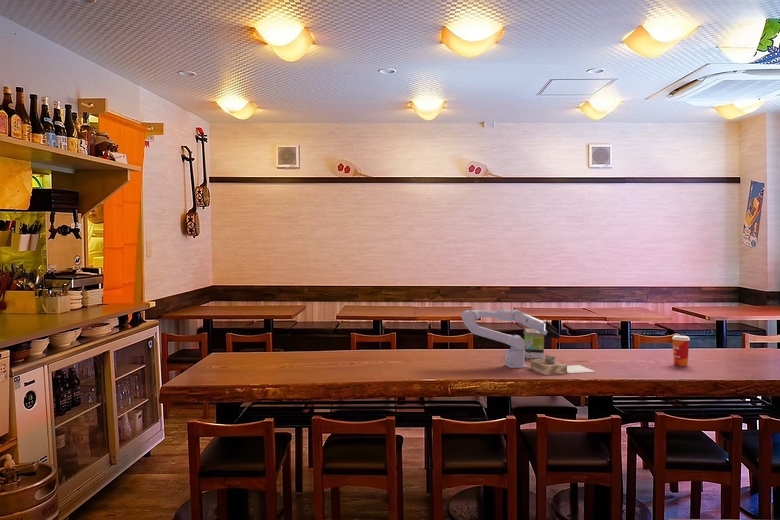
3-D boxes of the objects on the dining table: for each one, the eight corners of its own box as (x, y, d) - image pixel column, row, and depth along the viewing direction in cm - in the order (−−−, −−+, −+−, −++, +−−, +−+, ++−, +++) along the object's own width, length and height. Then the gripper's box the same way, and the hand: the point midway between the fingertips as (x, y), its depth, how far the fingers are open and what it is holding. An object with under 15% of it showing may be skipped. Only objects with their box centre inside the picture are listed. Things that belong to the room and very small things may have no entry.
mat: (568, 373, 243) (568, 372, 243) (554, 367, 257) (554, 366, 257) (595, 372, 246) (595, 371, 246) (579, 365, 259) (579, 365, 259)
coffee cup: (670, 362, 266) (670, 334, 266) (687, 363, 264) (688, 335, 263) (673, 366, 259) (673, 337, 258) (691, 367, 256) (691, 338, 256)
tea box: (544, 359, 276) (544, 332, 275) (525, 358, 278) (525, 332, 277) (541, 353, 290) (541, 328, 290) (523, 353, 292) (523, 327, 292)
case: (544, 374, 241) (544, 365, 241) (530, 368, 255) (530, 359, 255) (567, 373, 243) (567, 364, 243) (552, 367, 257) (552, 358, 257)
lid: (545, 366, 242) (545, 358, 242) (534, 361, 253) (534, 353, 253) (565, 365, 244) (565, 357, 244) (554, 360, 255) (554, 352, 255)
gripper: (538, 321, 250) (563, 333, 249) (535, 311, 264) (559, 322, 263) (532, 333, 252) (557, 344, 251) (529, 323, 266) (552, 333, 265)
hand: (557, 334), depth 257 cm, fingers open, 7 cm apart
